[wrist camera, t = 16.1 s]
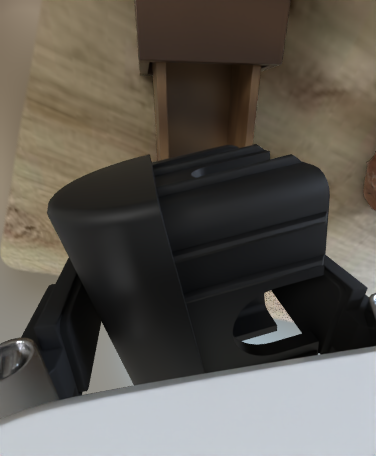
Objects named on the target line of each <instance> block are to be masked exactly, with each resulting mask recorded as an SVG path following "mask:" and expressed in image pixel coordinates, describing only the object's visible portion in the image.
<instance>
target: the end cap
mask: <svg viewBox="0 0 376 456" xmlns="http://www.w3.org/2000/svg"><path fill="white" fill-rule="evenodd" d="M329 198H330V194H329V186H328V182H327V179H326V177H325V175H324V173H323V172H322V171H321V170H320V169H319V168H318V167H316V166H314V165H311V164H308V163H305V162H302V161H300V160H299V159H298V158H297V157H295V156H294V155H292V154H290V155H286V156H282V157H278V158H274V159H270V151H267V150H264V149H263V148H261V147H260V146H259V145H257V144H254V145H250V146H246V147H242V148H239V147H237V146H235V145H224V146H220V147H215V148H211V149H207V150H203V151H198V152H194V153H190V154H186V155H181V156H177V157H173V158H169V159H164V160H160V161H156V162H151V159H150V155H145V156H141V157H137V158H133V159H130V160H126V161H123V162H120V163H117V164H114V165H110V166H108V167H105V168H102V169H99V170H97V171H94V172H92V173H89V174H87V175H85V176H83V177H81V178H78V179H76V180H74V181H73V182H71V183H69V184H67V185H66V186H64V187H63V188H62V189H60V190H59V191H58V192H57V193H55V194H54V196H53V197H52V198H51V199H50V201H49V203H48V211H47V214H48V217H49V219H50V221H51V223H52V225H53V227H54V229H55V231H56V232H57V234H58V236H59V238H60V240H61V242H62V244H63V246H64V248H65V250H66V252H67V254H68V256H69V258H70V260H71V262H72V264H73V266H74V268H75V270H76V272H77V274H78V276H79V278H80V280H81V282H82V284H83V286H84V288H85V290H86V292H87V294H88V296H89V298H90V299H91V301H92V303H93V305H94V307H95V309H96V311H97V313H98V315H99V317H100V319H101V321H102V323H103V325H104V327H105V329H106V331H107V333H108V335H109V337H110V339H111V341H112V343H113V345H114V347H115V349H116V351H117V353H118V355H119V357H120V359H121V361H122V363H123V364H124V366H125V368H126V370H127V372H128V374H129V376H130V378H131V380H132V382H133V384H134V385H140V384H146V383H152V382H157V381H163V380H169V379H175V378H181V377H187V376H193V375H199V374H205V373H211V372H217V371H223V370H229V369H235V368H241V367H247V366H253V365H259V364H265V363H272V362H278V361H284V360H290V359H296V358H303V357H309V356H315V355H318V345H319V341H318V340H317V338H316V337H315V336H314V335H313V333H312V332H311V331H309V332H306V333H302V334H299V335H296V336H292V337H289V338H285V339H282V340H279V341H275V342H272V343H267V344H259V345H254V344H248V343H244V342H242V341H243V340H247V339H250V338H253V337H257V336H261V335H264V334H267V333H271V332H274V331H277V325H276V323H275V321H274V320H273V318H272V317H271V315H270V314H269V312H268V310H267V308H266V306H265V299H264V293H265V292H267V291H270V290H272V289H275V288H279V287H282V286H286V285H289V284H293V283H296V282H300V281H304V280H307V279H311V278H314V277H318V276H321V275H324V265H325V252H326V238H327V225H328V212H329Z"/></svg>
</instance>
